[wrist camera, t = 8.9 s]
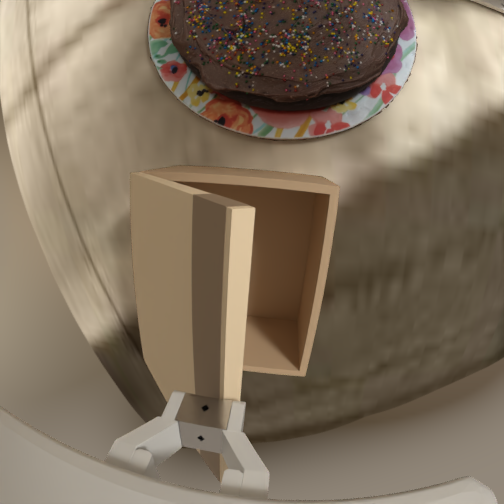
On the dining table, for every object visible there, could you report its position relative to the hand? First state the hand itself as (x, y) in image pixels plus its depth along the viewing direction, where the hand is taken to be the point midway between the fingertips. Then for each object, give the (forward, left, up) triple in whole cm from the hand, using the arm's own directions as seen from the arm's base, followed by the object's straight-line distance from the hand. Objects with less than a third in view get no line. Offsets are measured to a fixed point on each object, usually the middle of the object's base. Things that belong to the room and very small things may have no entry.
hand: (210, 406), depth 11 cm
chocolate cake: (-1, -25, -21) cm, 33 cm away
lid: (+3, 0, -6) cm, 7 cm away
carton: (+1, 0, -21) cm, 21 cm away
